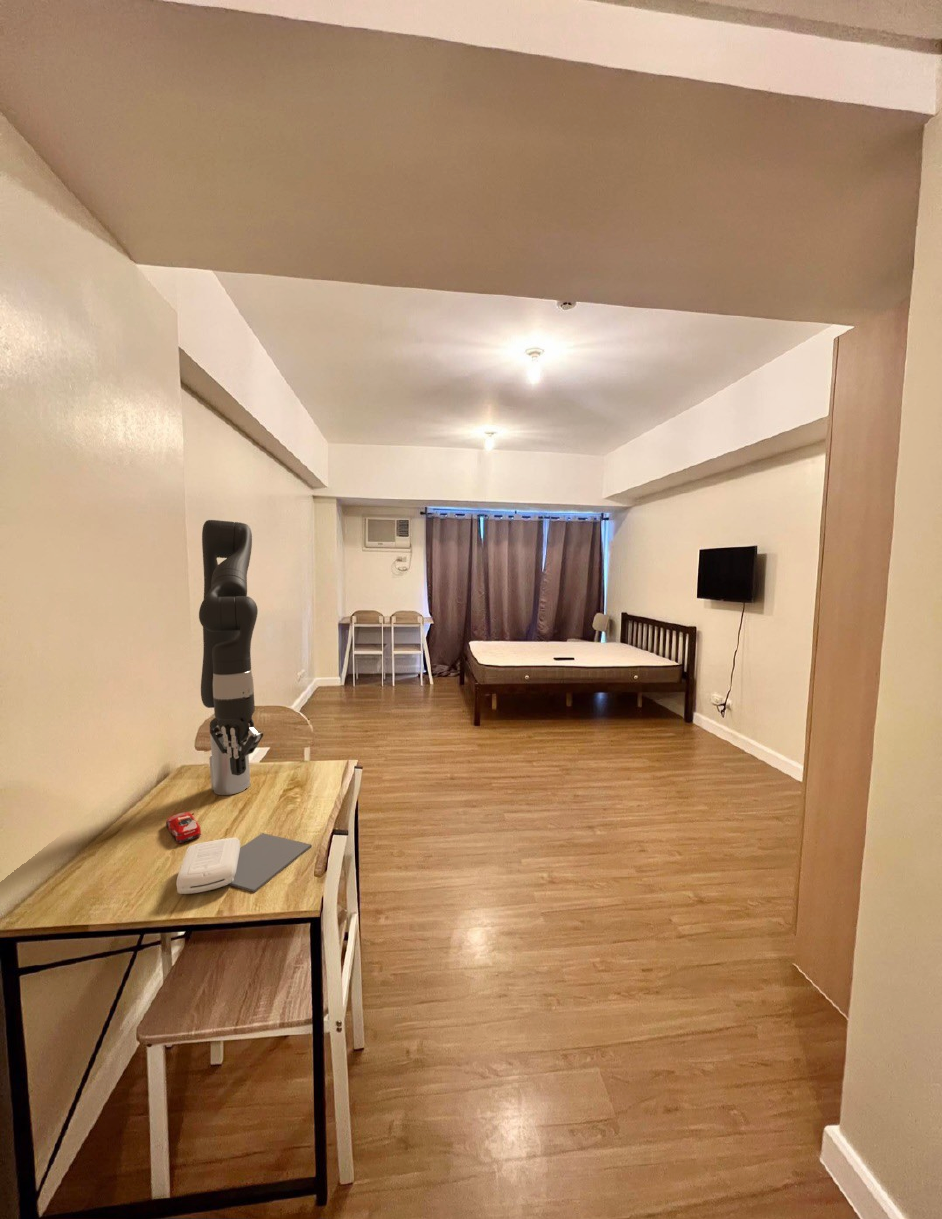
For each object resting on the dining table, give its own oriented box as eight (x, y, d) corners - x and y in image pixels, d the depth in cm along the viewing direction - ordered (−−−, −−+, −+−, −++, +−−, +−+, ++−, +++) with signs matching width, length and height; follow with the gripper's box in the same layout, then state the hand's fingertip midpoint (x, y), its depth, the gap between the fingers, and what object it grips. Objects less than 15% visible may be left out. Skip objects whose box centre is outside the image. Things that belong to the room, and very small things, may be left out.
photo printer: (186, 864, 99) (173, 903, 87) (185, 844, 98) (172, 881, 87) (241, 853, 103) (236, 889, 91) (240, 834, 102) (234, 868, 91)
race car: (164, 826, 116) (163, 810, 116) (189, 818, 120) (188, 802, 119) (176, 848, 106) (174, 831, 106) (203, 839, 110) (202, 822, 110)
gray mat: (201, 876, 96) (200, 874, 96) (262, 835, 111) (262, 833, 111) (254, 892, 91) (254, 890, 91) (311, 846, 105) (311, 844, 105)
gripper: (194, 694, 98) (199, 776, 100) (243, 700, 93) (248, 786, 95) (225, 686, 105) (230, 762, 106) (272, 691, 100) (276, 771, 102)
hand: (238, 773), depth 101 cm, fingers closed
